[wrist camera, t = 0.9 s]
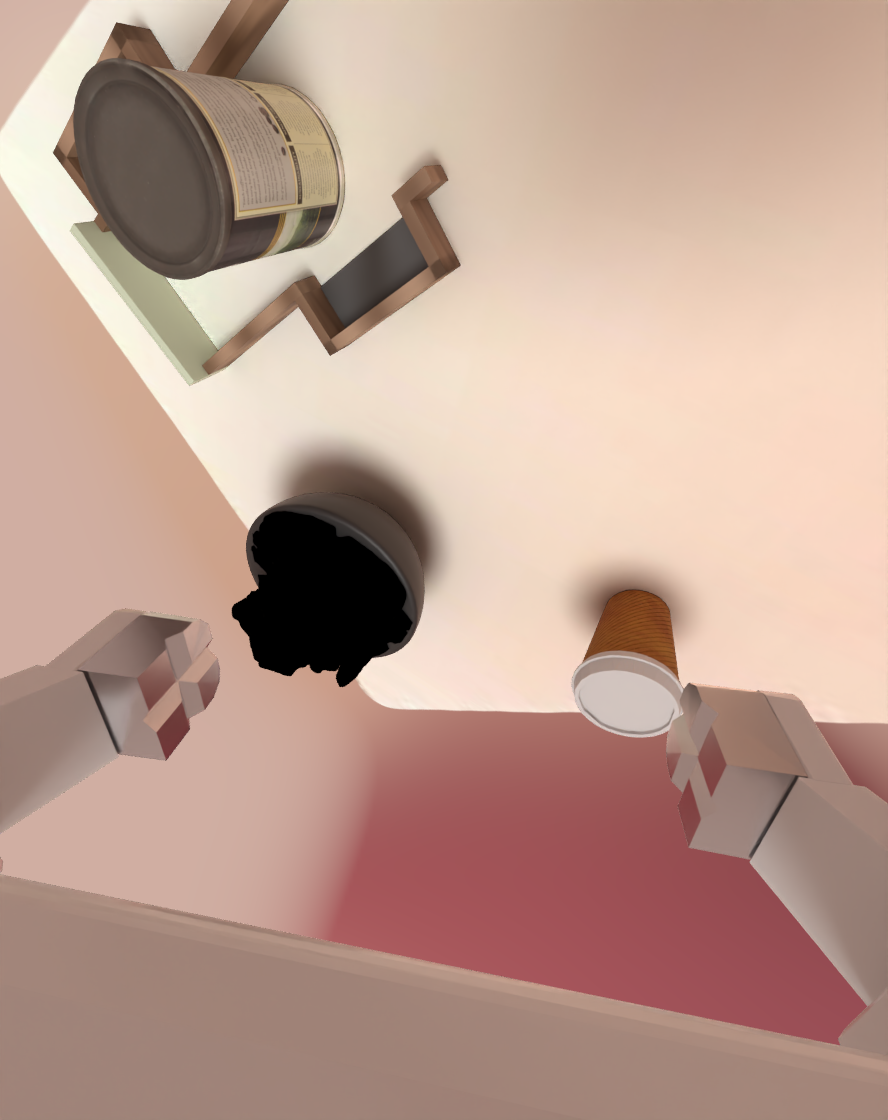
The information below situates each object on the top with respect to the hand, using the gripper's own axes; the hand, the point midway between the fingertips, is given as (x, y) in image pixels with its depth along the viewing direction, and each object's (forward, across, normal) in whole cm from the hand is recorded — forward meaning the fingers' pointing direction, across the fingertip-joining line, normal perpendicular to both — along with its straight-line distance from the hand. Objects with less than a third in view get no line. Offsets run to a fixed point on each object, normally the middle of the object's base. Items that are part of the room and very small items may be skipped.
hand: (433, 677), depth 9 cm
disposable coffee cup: (+40, -15, +24) cm, 49 cm away
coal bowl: (+46, +15, +22) cm, 53 cm away
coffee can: (+41, +19, -12) cm, 47 cm away
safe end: (+45, +34, -2) cm, 57 cm away
